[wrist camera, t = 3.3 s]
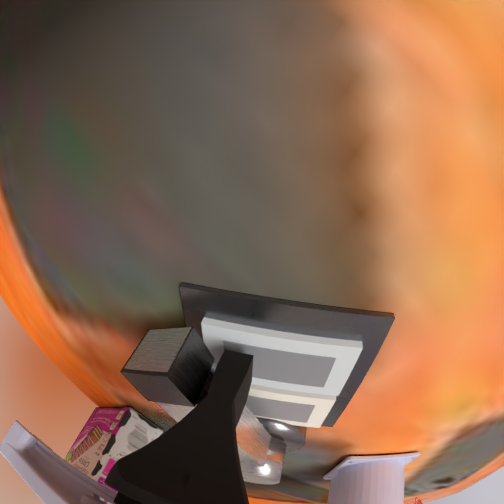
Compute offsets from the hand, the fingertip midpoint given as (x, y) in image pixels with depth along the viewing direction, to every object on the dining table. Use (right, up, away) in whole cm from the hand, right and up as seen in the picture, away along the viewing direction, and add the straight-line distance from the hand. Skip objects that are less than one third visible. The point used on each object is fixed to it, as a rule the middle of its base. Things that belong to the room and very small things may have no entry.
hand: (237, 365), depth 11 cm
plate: (+2, -2, +2) cm, 3 cm away
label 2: (+2, -4, +3) cm, 6 cm away
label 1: (+2, 0, +1) cm, 2 cm away
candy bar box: (-14, -14, +14) cm, 24 cm away
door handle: (0, -4, +3) cm, 5 cm away
